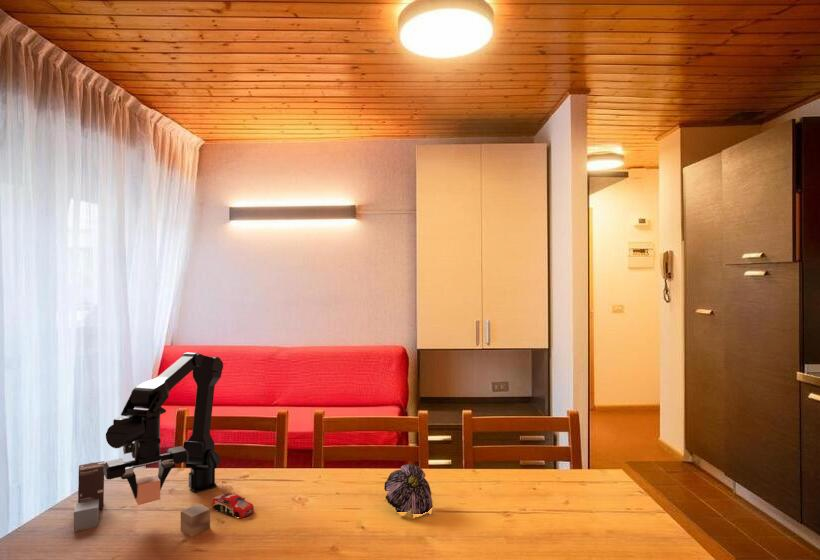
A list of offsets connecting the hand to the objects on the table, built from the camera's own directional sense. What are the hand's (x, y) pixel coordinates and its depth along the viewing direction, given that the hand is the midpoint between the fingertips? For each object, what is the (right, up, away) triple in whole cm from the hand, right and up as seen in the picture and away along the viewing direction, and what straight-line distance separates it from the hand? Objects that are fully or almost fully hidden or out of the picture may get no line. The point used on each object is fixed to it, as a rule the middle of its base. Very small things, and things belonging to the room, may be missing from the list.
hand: (147, 494), depth 123 cm
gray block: (-16, -8, 0) cm, 18 cm away
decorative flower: (+68, -9, +11) cm, 70 cm away
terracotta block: (0, -1, 0) cm, 1 cm away
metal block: (+13, -8, -2) cm, 16 cm away
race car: (+19, -9, +8) cm, 23 cm away
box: (-20, -8, +8) cm, 23 cm away
